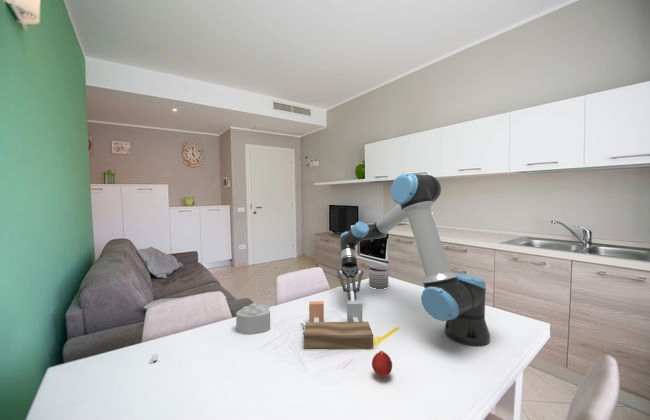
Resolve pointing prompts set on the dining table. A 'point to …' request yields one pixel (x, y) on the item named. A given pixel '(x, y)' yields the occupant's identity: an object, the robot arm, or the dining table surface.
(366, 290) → the dining table surface
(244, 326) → the lumpy-topped squat cylinder
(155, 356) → the adhesive hook
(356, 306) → the grey plunger
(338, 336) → the plunger housing
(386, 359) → the red oval fruit
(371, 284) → the can
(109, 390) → the dining table surface
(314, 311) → the peach rectangular block
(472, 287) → the robot arm
